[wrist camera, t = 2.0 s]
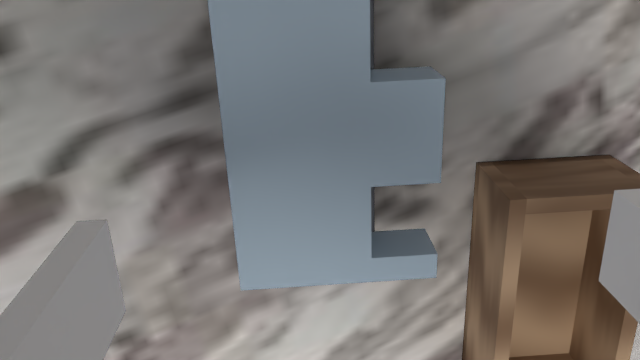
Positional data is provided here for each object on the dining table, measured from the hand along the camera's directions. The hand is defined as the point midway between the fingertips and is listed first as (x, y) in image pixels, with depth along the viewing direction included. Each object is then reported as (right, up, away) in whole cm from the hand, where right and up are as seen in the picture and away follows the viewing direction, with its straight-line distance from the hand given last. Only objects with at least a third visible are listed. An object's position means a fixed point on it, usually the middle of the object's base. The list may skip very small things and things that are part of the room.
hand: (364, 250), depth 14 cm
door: (-1, +4, +10) cm, 11 cm away
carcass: (+11, -3, +19) cm, 22 cm away
